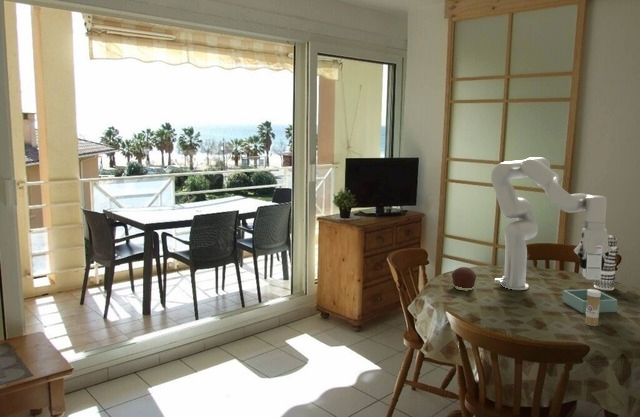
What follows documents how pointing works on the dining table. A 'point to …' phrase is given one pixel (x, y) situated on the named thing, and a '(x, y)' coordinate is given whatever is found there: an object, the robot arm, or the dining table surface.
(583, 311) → the tote
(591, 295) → the sprinkles bottle
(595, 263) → the syrup box
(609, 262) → the decorative candle
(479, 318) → the dining table surface
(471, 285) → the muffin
